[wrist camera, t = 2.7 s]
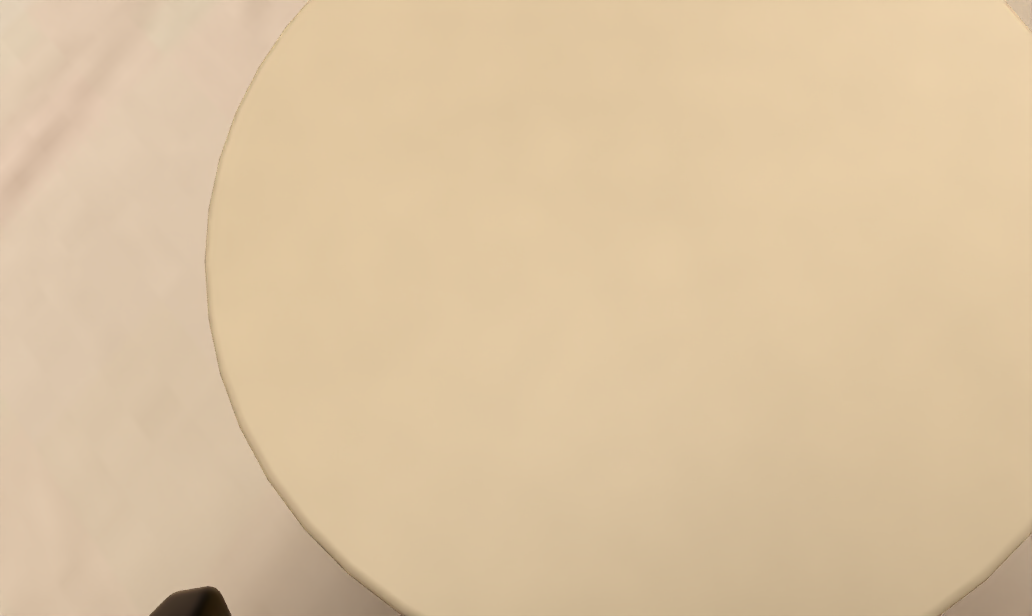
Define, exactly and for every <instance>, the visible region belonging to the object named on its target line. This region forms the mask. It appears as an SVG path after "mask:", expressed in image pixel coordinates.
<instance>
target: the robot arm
mask: <svg viewBox="0 0 1032 616" xmlns="http://www.w3.org/2000/svg"><path fill="white" fill-rule="evenodd" d="M149 616H231V613H230V611H229V609H228V607H227V605H226V603H225V600H224V598H223V596H222V595H221V593H220V591H218V590H217V589H216V588H214V587H209V586H207V587H201V588H195V589H189V590H183V591H178V592H175V593H173V594H172V595H170V596H169V597H168V598H167V599H165V600H164V601H163V602H162V603H161V604H160V605H159V606H158V607H157V608H156V609H155V610H154V611H153V612H152V613H151V614H150V615H149Z"/></svg>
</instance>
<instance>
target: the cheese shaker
mask: <svg viewBox="0 0 1032 616" xmlns="http://www.w3.org/2000/svg"><path fill="white" fill-rule="evenodd" d="M205 273H206V288H207V303H208V317H209V323H210V328H211V333H212V337H213V342H214V347H215V352H216V356H217V361H218V366H219V371H220V375H221V377H222V380H223V383H224V386H225V388H226V391H227V394H228V397H229V399H230V402H231V405H232V408H233V410H234V413H235V416H236V418H237V421H238V424H239V427H240V429H241V431H242V432H243V434H244V436H245V438H246V440H247V442H248V444H249V446H250V447H251V449H252V451H253V453H254V455H255V457H256V459H257V460H258V462H259V464H260V466H261V468H262V470H263V472H264V474H265V475H266V477H267V479H268V481H269V482H270V483H271V485H272V486H273V487H274V489H275V490H276V491H277V493H278V494H279V496H280V497H281V498H282V500H283V501H284V502H285V504H286V505H287V506H288V508H289V509H290V510H291V512H292V513H293V515H294V516H295V517H296V519H297V520H298V521H299V523H300V524H301V525H302V527H303V528H304V529H305V530H306V531H307V532H308V533H309V534H310V535H311V537H312V538H313V539H314V540H315V541H316V542H317V543H318V544H319V545H320V546H321V547H322V548H323V549H324V550H325V551H326V552H327V553H328V554H329V555H330V556H331V557H332V558H333V559H334V560H335V561H336V562H337V563H338V564H339V565H340V566H341V567H342V568H343V569H344V570H345V571H346V572H347V573H348V574H349V575H350V576H351V577H353V578H354V579H355V580H357V581H358V582H359V583H361V584H362V585H363V586H365V587H366V588H367V589H368V590H370V591H371V592H372V593H374V594H375V595H376V596H378V597H379V598H380V599H381V600H383V601H384V602H385V603H387V604H388V605H389V606H391V607H392V608H393V609H395V610H396V611H397V612H398V613H400V614H401V615H403V616H940V615H941V614H942V613H944V612H945V611H946V610H948V609H949V608H950V607H951V606H953V605H954V604H955V603H957V602H958V601H959V600H961V599H962V598H963V597H965V596H966V595H967V594H969V593H970V592H971V591H973V590H974V589H975V588H977V587H978V586H979V585H981V584H982V583H983V582H985V581H986V580H987V579H988V578H989V577H990V576H991V575H992V574H993V572H994V571H995V570H996V569H997V568H998V567H999V566H1000V565H1001V564H1002V563H1003V562H1004V561H1005V560H1006V559H1007V558H1008V557H1009V556H1010V555H1011V554H1012V553H1013V552H1014V551H1015V550H1016V549H1017V548H1018V547H1019V545H1020V544H1021V543H1022V542H1023V541H1024V540H1025V539H1026V538H1027V537H1028V536H1029V535H1030V534H1031V533H1032V32H1031V30H1030V29H1029V28H1028V27H1027V26H1026V25H1025V23H1024V22H1023V21H1022V20H1021V19H1020V18H1019V17H1018V15H1017V14H1016V13H1015V12H1014V11H1013V10H1012V8H1011V7H1010V6H1009V5H1008V4H1007V3H1006V1H1005V0H309V1H308V2H307V3H306V5H305V6H304V7H303V8H302V9H301V10H300V12H299V13H298V14H297V15H296V16H295V17H294V18H293V20H292V21H291V22H290V23H289V24H288V25H287V26H286V28H285V29H284V31H283V32H282V34H281V35H280V37H279V38H278V40H277V41H276V43H275V44H274V46H273V47H272V49H271V50H270V52H269V53H268V54H267V56H266V57H265V59H264V60H263V62H262V63H261V65H260V66H259V68H258V70H257V72H256V74H255V76H254V78H253V80H252V82H251V84H250V86H249V87H248V89H247V91H246V93H245V95H244V97H243V99H242V101H241V103H240V105H239V107H238V109H237V111H236V114H235V116H234V119H233V122H232V125H231V128H230V130H229V133H228V136H227V139H226V142H225V145H224V147H223V150H222V153H221V156H220V159H219V163H218V167H217V172H216V177H215V182H214V186H213V191H212V196H211V201H210V205H209V211H208V224H207V238H206V252H205Z"/></svg>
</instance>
